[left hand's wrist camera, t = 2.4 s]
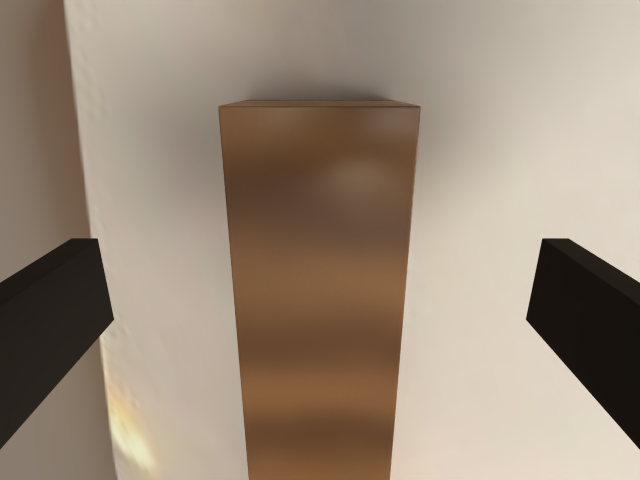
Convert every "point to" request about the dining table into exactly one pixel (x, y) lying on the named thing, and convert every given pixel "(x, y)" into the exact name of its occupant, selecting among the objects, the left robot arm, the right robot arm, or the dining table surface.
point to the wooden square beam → (319, 279)
